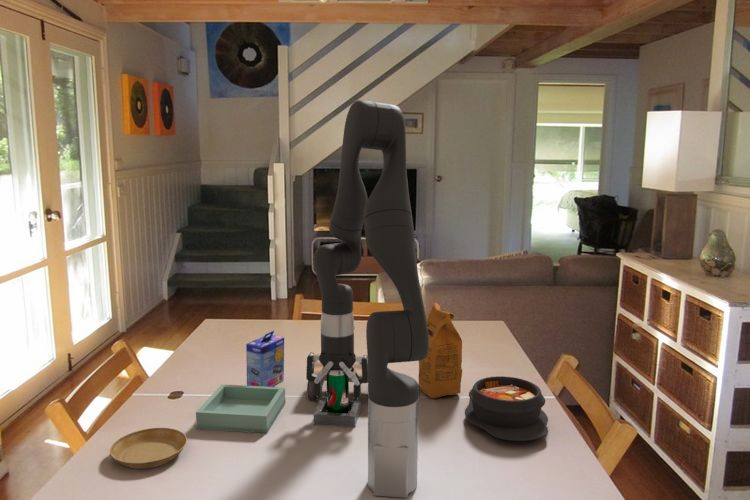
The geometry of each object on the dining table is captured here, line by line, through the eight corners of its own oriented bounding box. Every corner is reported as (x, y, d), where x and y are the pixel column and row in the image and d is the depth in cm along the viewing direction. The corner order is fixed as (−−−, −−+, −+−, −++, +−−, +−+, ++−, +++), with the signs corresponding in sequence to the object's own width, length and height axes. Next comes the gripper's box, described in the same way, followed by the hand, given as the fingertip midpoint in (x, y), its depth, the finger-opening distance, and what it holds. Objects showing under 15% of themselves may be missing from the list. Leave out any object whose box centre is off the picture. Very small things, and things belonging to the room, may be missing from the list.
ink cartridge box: (262, 393, 158) (261, 338, 156) (245, 389, 161) (243, 334, 158) (285, 380, 167) (284, 327, 165) (269, 376, 170) (267, 324, 167)
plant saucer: (200, 456, 127) (200, 444, 127) (128, 483, 117) (127, 470, 117) (168, 432, 138) (167, 421, 137) (99, 455, 128) (98, 443, 127)
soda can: (345, 422, 142) (345, 372, 140) (324, 420, 143) (323, 370, 141) (351, 413, 147) (351, 364, 145) (330, 411, 148) (329, 363, 146)
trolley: (379, 406, 151) (379, 379, 149) (306, 402, 153) (305, 375, 151) (385, 383, 165) (385, 358, 163) (318, 380, 167) (317, 355, 165)
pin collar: (355, 427, 140) (355, 416, 139) (313, 424, 141) (313, 414, 140) (360, 409, 149) (360, 399, 149) (321, 407, 150) (321, 397, 150)
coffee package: (449, 379, 168) (451, 300, 164) (465, 397, 156) (467, 312, 152) (413, 382, 166) (414, 301, 162) (426, 401, 154) (428, 314, 150)
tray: (266, 433, 137) (266, 416, 136) (196, 429, 138) (195, 412, 138) (285, 403, 152) (285, 387, 152) (222, 399, 154) (221, 384, 153)
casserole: (453, 401, 154) (453, 369, 152) (526, 398, 156) (527, 366, 154) (480, 451, 129) (481, 413, 128) (566, 447, 131) (569, 409, 130)
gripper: (302, 334, 138) (303, 403, 141) (366, 336, 137) (366, 406, 140) (310, 324, 146) (310, 390, 149) (370, 326, 144) (370, 393, 147)
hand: (337, 398), depth 144 cm, fingers open, 8 cm apart
